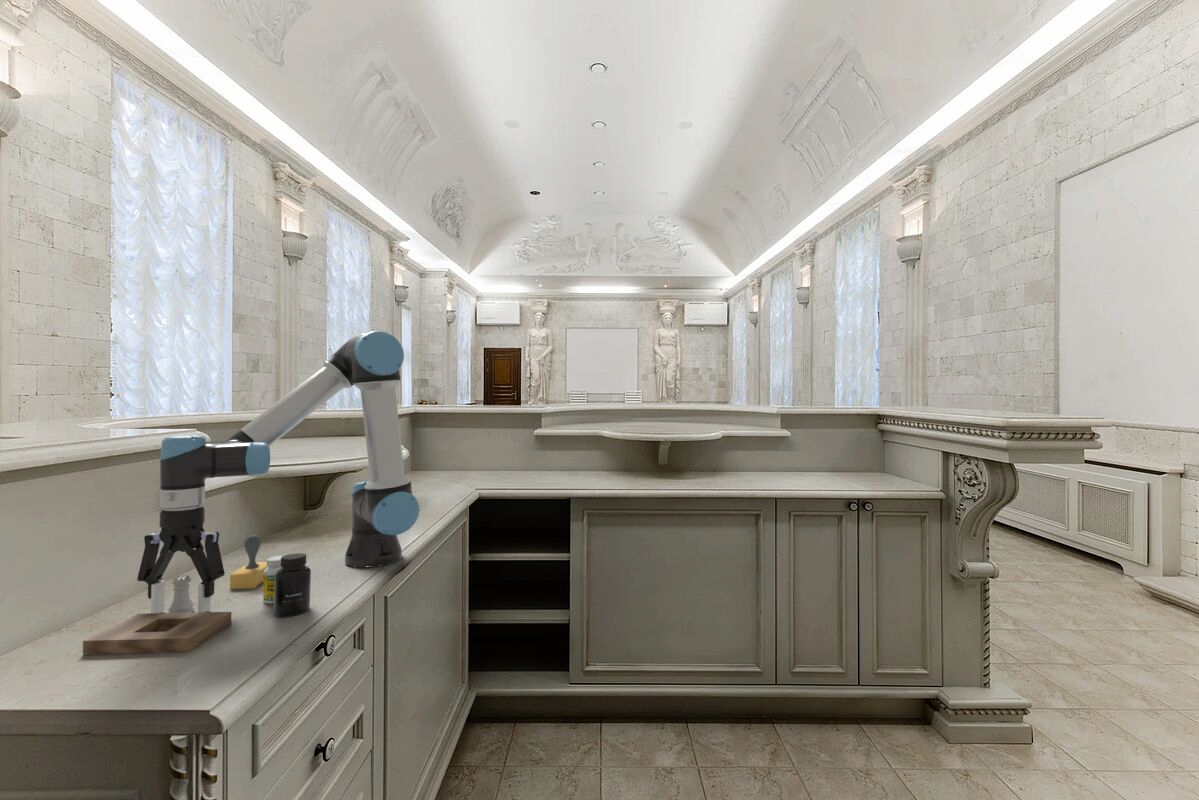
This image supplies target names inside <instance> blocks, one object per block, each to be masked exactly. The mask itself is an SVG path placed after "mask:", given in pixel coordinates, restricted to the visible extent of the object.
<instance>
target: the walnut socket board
mask: <svg viewBox="0 0 1199 800" xmlns="http://www.w3.org/2000/svg"><path fill="white" fill-rule="evenodd" d="M230 625H232V611H207V612H198V611H197V612H196V611H195V612H194V611H193V612H192V613H169V612H161V613H151V612H150V613H149V612H148V613H137V614H135V615H133V616H131V617H128V618H127V619H125V620H122V621H121V622H118V623H117V624H114V625H112V626H110V627H108V628H106V629H104V630H102V631H101V632H99V633H96V634H94V635H92V636H90V637H88V638H86V639H84V640H82V655H83V654H95V655H118V654H119V655H123V654H128V655H129V654H131V655H132V654H157V653H158V654H161V653H163V654H164V653H188V652H190V651H192V650H194V649H195V648H196V647H198V646H200V645H201V644H203V643H204V642H206V641H208V640H209V639H210V638H212V637H214V636H215V635H216V634H218V633H220V632H221V631H222V630H224V629H226V628H227V627H229V626H230Z"/></svg>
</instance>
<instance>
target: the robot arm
mask: <svg viewBox="0 0 1199 800" xmlns="http://www.w3.org/2000/svg"><path fill="white" fill-rule="evenodd" d="M404 359H405V353H404V349H403V346H402V344H401V343H400V341H399V340H398V339H397V338H396V337H395V336H394V335H392V334H391V333H389V332H386V331H381V330H373V331H366V332H363V333H362V334H360V335H355V336H353V337H352V338H350V339H348V340H347V341H346V342H345V343H344V344H342V346H340V348H338V350H336V351H335V352H334V353H333V354H332V355H331V356H330V357H328V358H327V359H325V360H324V361H323V365H322V366H323V367H321V368H320V369H318V371H316V372H314V373H313V374H312V375H310V377H308V378H307V379H306V380H304V381H303V382H301V384H299V385H298V386H296V387H295V388H294V389H292V390H291V391H290V392H288V393H287V394H286V395H284V396H283V397H282V398H280V399H279V400H278V401H276V402H275V403H274V404H272V405H271V406H269V407H268V408H267V409H266V410H264V411H263V412H262V413H261V414H259V415H258V416H256V417H255V418H254V419H252V420H251V421H250V422H249V423H247V424H246V425H245V426H243V427H241V428H240V429H239V430H238V431H237V432H235V433H234V434H232V435H231V436H230V437H229V438H226V439H224V440H222V441H221V442H220V443H207V439H206V437H205V436H204V435H198V434H197V435H172V436H167V437H165V438H163V440H162V441H161V447H160V448H161V449H160V459H159V460H160V462H159V463H160V464H159V465H160V467H159V469H160V472H159V473H160V477H159V479H160V481H159V482H160V484H159V485H160V486H159V487H160V488H159V489H160V493H159V494H160V495H159V496H160V497H159V507H160V508H161V511H159V528H161V530H160V532H153V533H149V534H145V535H144V537H143V539H144V549H143V554H142V557H141V563H140V567H139V570H138V573H137V581H138V582H144V583H146V584H147V598H148V599H149V600H151V601H150V613H164V611H165V610H166V609H165V607H166V604H165V601H166V580H163V579H164V577H163V575H164V574H165V572H166V571H167V567H168V566H169V564H170V562H171V560H172V559H173V557H174V555H175V553H177V552H182V553H186V555H187V556H188V557H190V559H191V562H192V563H193V565H194V567H195V569H196V572H197V573H198V575H199V577H200V579H201V582H200V583H198V584H197V585H198V587H197V588H198V589H197V592H198V594H197V595H198V596H197V612H210V611H211V602H212V601H211V600H212V599H211V597H212V596H214V595H215V581H216V580H218V579H220V578H222V577H224V575H225V569H224V564H223V559H222V555H221V550H220V545H219V538H220V533H219V532H218V531H214V532H207V531H205V529H204V524H205V517H206V516H205V507H204V506H203V505H204V504H205V503H206V479H207V478H208V479H214V478H224V477H242V476H243V477H244V476H250V477H252V476H257V475H264V474H267V473H268V472H269V470H270V466H271V450H270V449H271V448H270V446H272V445H273V444H275V443H276V442H277V441H278V440H280V439H281V438H283V436H285V435H286V434H287V433H288V432H290V431H291V430H292V429H294V428H295V427H296V426H297V425H299V424H300V423H301V422H302V421H304V420H305V419H306V418H308V417H309V416H310V415H311V414H312V413H314V412H315V411H317V410H318V409H319V408H320V407H322V406H323V405H324V404H325V403H326V402H329V400H330V399H332V398H333V397H334V396H335V395H337V394H338V393H340V391H342V390H343V389H350V388H351V387H353V386H355V387H356V388H358V389H359V390H360V398H361V406H362V415H363V426H364V435H365V436H364V437H365V445H366V454H367V462H368V463H367V464H368V473H369V481H362V482H361V481H360V482H355V483H354V484H353V485H352V486H353V487H352V492H351V496H352V497H351V498H352V499H351V502H352V505H351V507H352V508H351V511H352V512H351V513H352V515H351V537H350V540H349V543H348V545H347V548H346V551H345V555H344V564H345V563H346V564H347V565H346V564H345V565H346V566H348V565H350V566H349V567H351V566H356V567H355V568H367V567H366V566H376V567H380V566H379V565H382V566H386V565H385V564H387V565H390V564H393V562H394V563H396V562H399V560H401V559H402V557H403V552H402V551H403V550H402V547H401V543H400V541H399V538H398V536H399V535H401V534H403V533H406V532H407V531H409V530H411V528H412V527H413V526H414V524H416V523H417V520H418V518H419V515H420V504H419V501H418V499H417V498H416V496H414V494H413V491H412V490H413V488H412V480H411V478H409V477H408V476H406V475H405V470H404V469H405V468H404V460H403V449H402V440H401V438H402V437H401V431H400V421H399V420H400V419H399V411H398V402H397V401H398V400H397V391H396V389H397V386H398V385H399V383H400V382H401V380H402V379H401V371H400V368H401V367H402V365H403V362H404ZM202 540H203V541H202ZM161 542H162V543H163V545H162V547H161V549H160V544H161ZM202 542H203V544H202ZM203 545H204V546H203ZM159 549H160V552H159ZM204 549H205V551H204ZM158 553H159V556H158ZM157 557H158V558H157ZM389 563H390V564H389Z"/></svg>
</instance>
